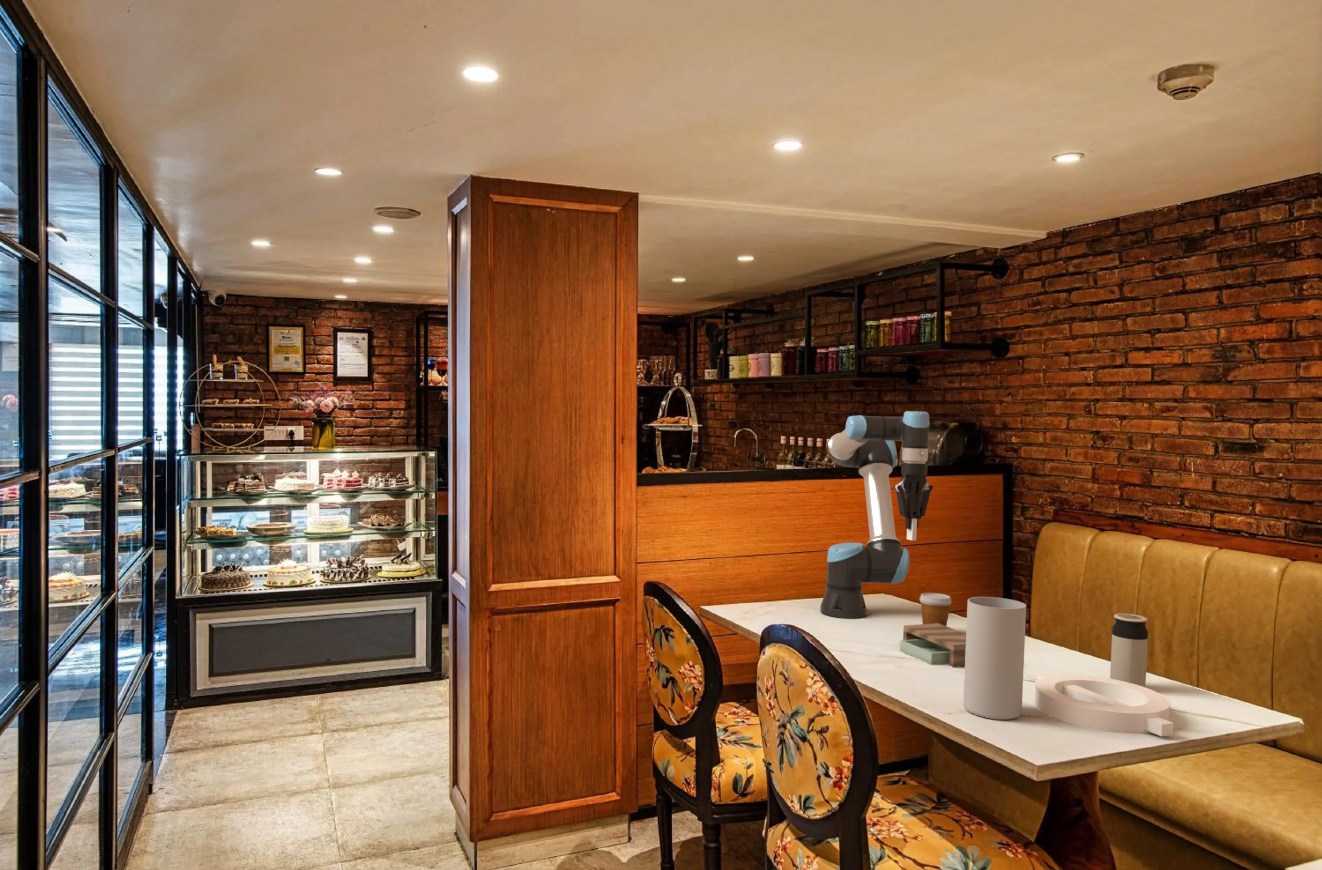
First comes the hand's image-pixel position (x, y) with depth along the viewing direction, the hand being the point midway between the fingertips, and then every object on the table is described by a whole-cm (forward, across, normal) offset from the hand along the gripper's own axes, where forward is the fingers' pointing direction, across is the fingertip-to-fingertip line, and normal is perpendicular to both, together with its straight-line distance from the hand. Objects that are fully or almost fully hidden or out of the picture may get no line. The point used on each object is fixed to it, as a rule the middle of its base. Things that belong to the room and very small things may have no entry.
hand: (911, 539), depth 275 cm
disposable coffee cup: (+29, +8, -2) cm, 31 cm away
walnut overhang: (+29, -4, -22) cm, 37 cm away
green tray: (+29, -8, -22) cm, 37 cm away
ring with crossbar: (+29, +1, -72) cm, 78 cm away
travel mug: (+29, +23, -60) cm, 70 cm away
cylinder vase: (+29, -24, -65) cm, 75 cm away
